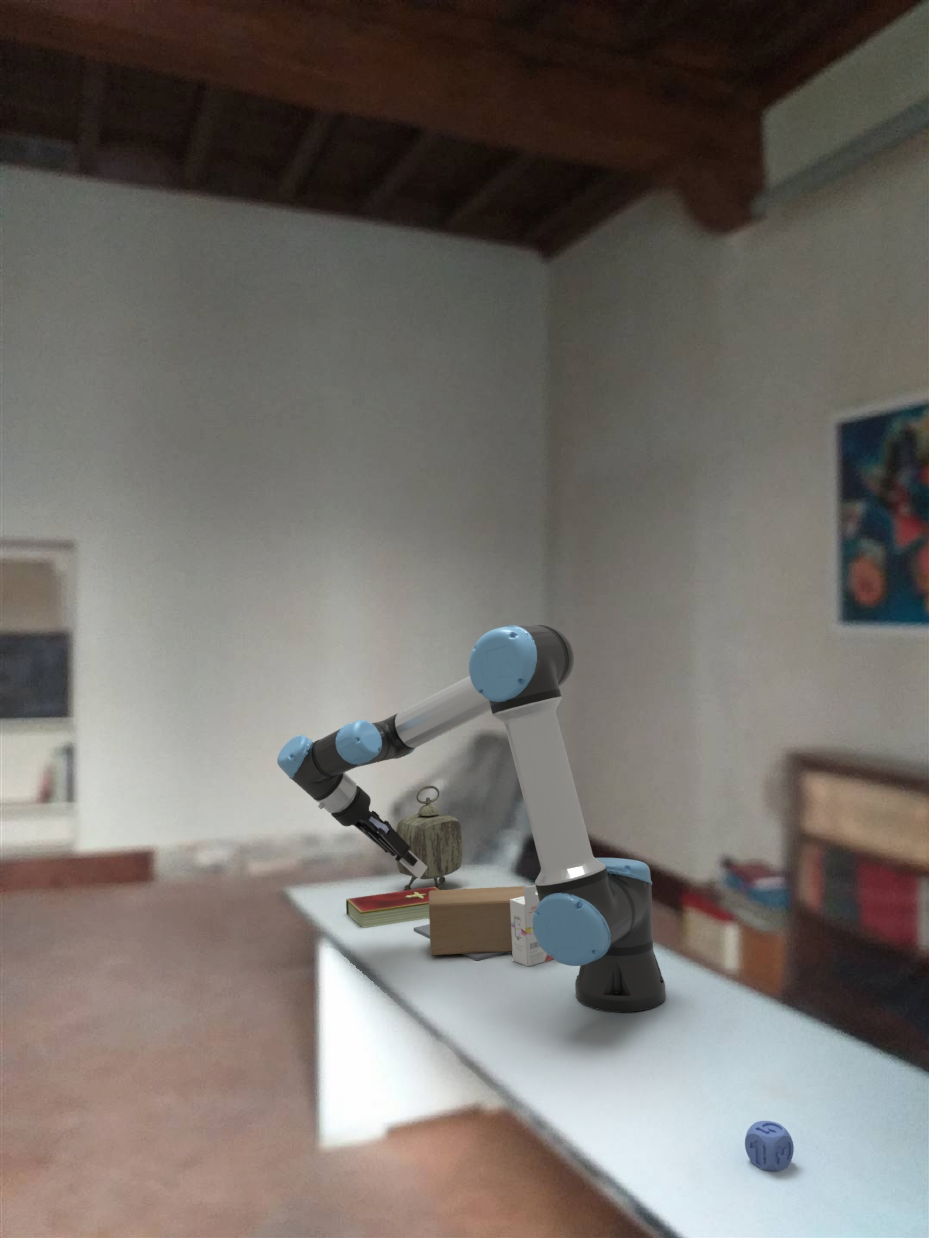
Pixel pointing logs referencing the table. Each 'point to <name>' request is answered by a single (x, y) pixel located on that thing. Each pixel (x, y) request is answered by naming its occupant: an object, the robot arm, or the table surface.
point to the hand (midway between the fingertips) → (421, 871)
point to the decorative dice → (769, 1146)
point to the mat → (476, 956)
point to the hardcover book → (390, 907)
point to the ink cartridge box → (525, 929)
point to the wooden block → (471, 920)
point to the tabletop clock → (432, 841)
